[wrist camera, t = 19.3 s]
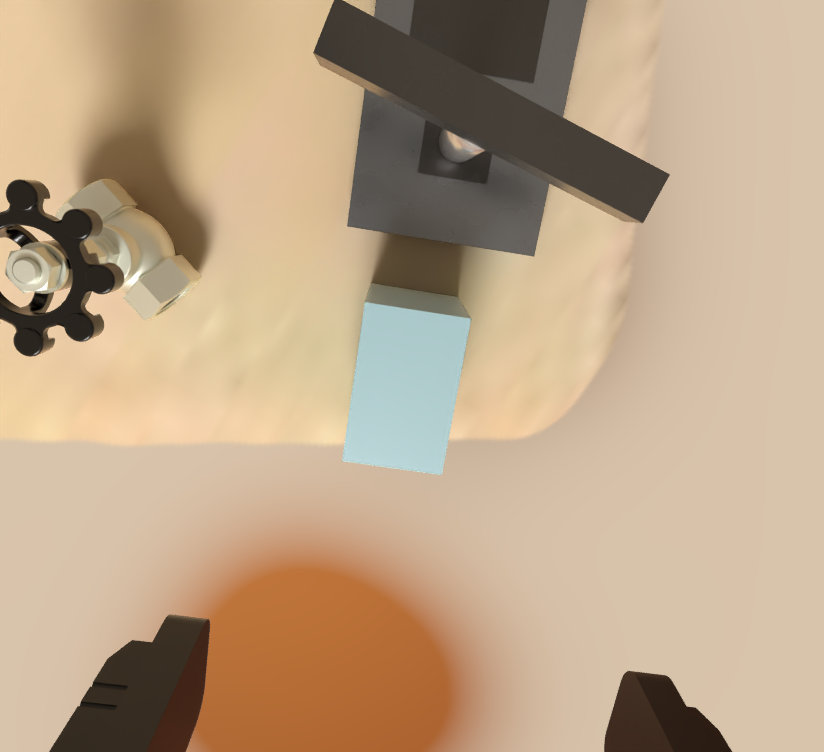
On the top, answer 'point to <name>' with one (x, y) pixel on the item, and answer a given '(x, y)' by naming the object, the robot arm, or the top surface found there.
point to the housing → (419, 139)
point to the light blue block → (406, 379)
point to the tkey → (485, 115)
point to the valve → (86, 261)
